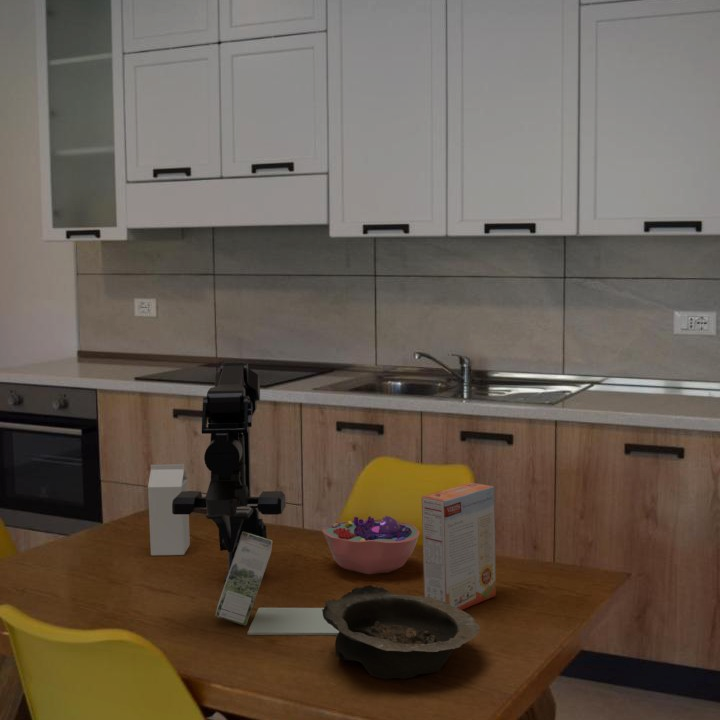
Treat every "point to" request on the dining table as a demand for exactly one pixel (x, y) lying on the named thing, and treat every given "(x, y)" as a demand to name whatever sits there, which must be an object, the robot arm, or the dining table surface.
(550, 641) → the dining table surface
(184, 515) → the milk carton
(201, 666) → the dining table surface
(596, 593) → the dining table surface
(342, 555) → the cell model
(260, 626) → the mat
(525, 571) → the dining table surface
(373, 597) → the stone bowl
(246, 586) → the syrup box
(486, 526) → the cracker box
